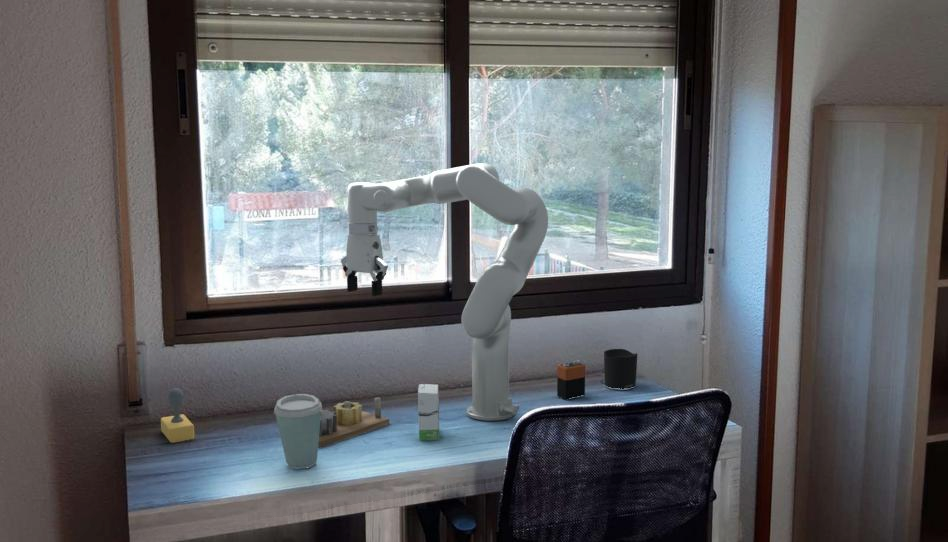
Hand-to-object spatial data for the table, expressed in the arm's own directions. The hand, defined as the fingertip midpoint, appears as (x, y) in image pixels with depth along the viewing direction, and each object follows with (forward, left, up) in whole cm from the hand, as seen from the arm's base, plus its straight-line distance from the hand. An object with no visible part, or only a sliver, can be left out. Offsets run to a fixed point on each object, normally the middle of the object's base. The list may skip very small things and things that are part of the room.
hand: (364, 293), depth 251 cm
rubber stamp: (+16, +48, -31) cm, 59 cm away
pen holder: (-44, -57, -31) cm, 78 cm away
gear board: (-12, +20, -30) cm, 38 cm away
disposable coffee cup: (-23, +41, -31) cm, 56 cm away
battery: (-39, -40, -31) cm, 64 cm away
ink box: (-31, +8, -31) cm, 44 cm away
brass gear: (-12, +17, -29) cm, 35 cm away
